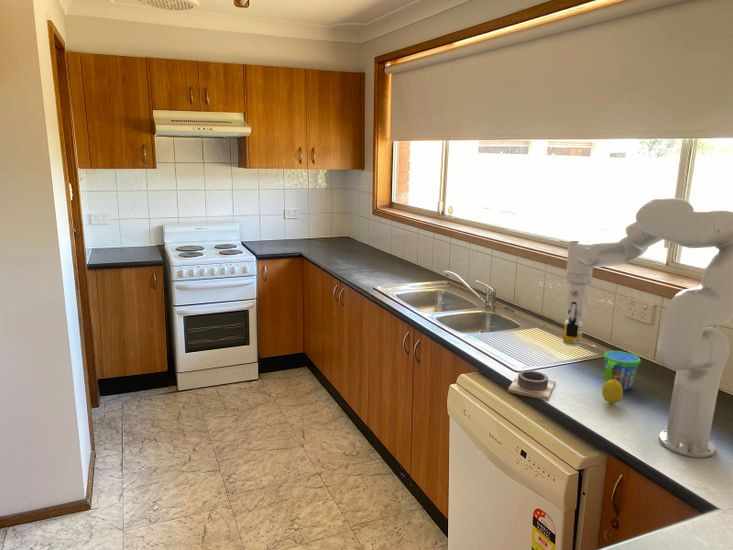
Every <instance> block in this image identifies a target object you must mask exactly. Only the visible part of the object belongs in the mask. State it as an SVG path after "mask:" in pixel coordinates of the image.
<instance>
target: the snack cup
mask: <svg viewBox="0 0 733 550" xmlns="http://www.w3.org/2000/svg"><path fill="white" fill-rule="evenodd" d="M603 359H604V368H605V369H604V370H605V371H604V374H603V379H604V380H605V383H606V382H607V381H609V380H613V379H615V380H616V381H618V382H619V383H620V384H621V385H622V388H623V391H627V390H630V389H631V388H632V386H633V382H634V379H635V377H636V374H637V370H638V367H639V366H640V364H641V363H642V360H641V358H640V357H639V356H638V355H636V354H633V353H630V352H625V351H620V350H608V351H606V352H604V354H603Z"/></svg>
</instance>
